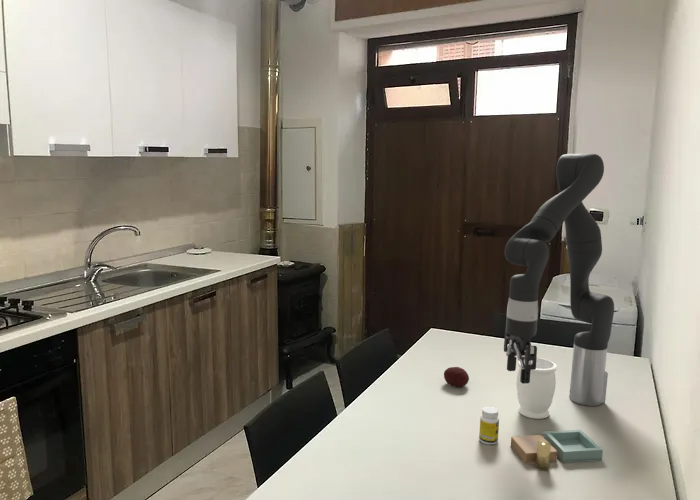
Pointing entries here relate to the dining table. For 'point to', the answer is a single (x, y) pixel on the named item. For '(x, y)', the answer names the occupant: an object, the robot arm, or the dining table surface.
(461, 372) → the potato
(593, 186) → the robot arm
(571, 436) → the tray
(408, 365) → the dining table surface
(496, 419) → the supplement bottle
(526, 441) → the brown wooden square block
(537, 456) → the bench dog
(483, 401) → the dining table surface
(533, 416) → the jar
